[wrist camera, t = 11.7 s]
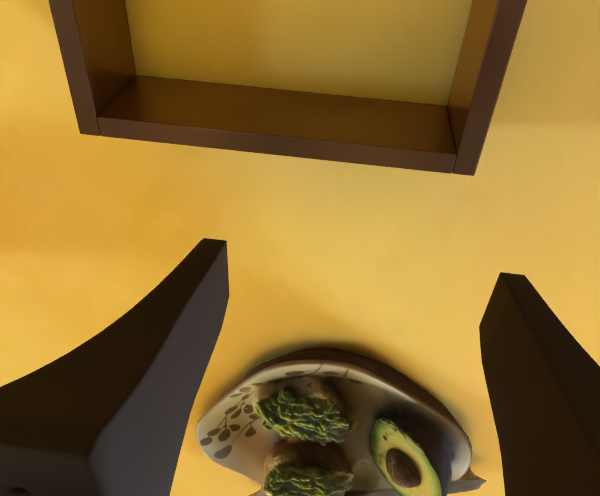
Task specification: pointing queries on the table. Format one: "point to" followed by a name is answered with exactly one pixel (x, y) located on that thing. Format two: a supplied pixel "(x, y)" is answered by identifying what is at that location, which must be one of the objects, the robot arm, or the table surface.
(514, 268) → the table surface
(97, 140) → the table surface
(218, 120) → the rectangular frame
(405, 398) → the salad plate
